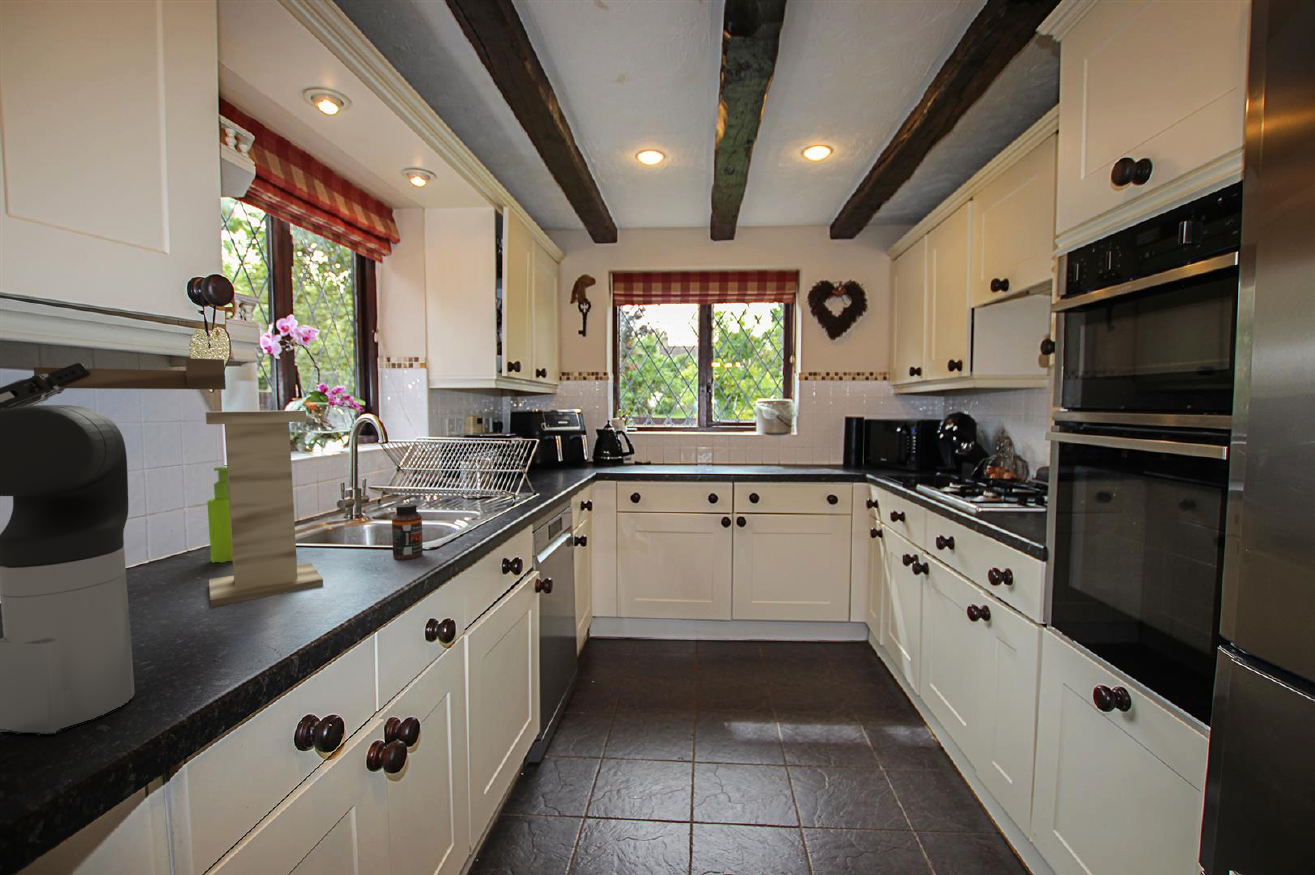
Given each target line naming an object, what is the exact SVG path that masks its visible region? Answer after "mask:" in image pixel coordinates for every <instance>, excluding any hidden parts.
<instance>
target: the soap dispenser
mask: <svg viewBox="0 0 1315 875" xmlns="http://www.w3.org/2000/svg"><path fill="white" fill-rule="evenodd" d="M213 470H214V472H215V471H217V475H218V481H216V482H214V483H213V491H214V494H213V495H214V497H213V498H210V499H207V517H208V518H207V520H208V531H209V547H210V561H211V563H215V562H220V563H227V562H226V561H230V562H233V557H232V540H231V524H230V508H229V491H228V475H227V466H222V467H214V468H213Z"/></svg>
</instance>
